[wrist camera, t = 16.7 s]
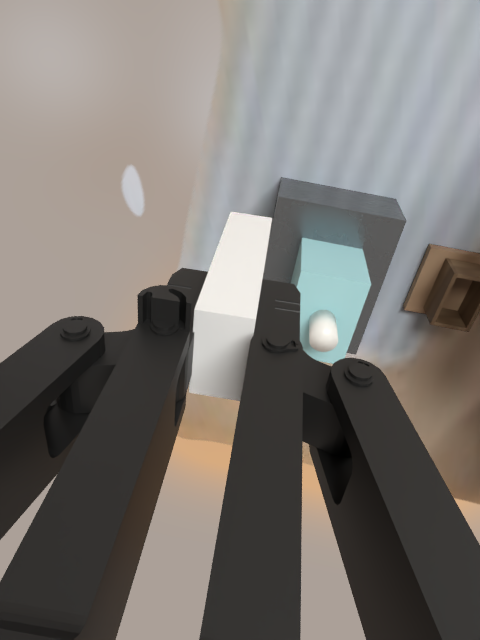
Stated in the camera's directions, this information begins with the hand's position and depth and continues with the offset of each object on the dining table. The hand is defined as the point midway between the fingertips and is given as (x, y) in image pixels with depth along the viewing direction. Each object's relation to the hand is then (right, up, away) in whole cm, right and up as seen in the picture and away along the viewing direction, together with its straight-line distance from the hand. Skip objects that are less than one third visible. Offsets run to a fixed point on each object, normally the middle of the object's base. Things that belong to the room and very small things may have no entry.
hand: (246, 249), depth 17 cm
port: (+9, +5, +35) cm, 36 cm away
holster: (+23, +2, +35) cm, 42 cm away
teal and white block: (+8, +3, +33) cm, 35 cm away
